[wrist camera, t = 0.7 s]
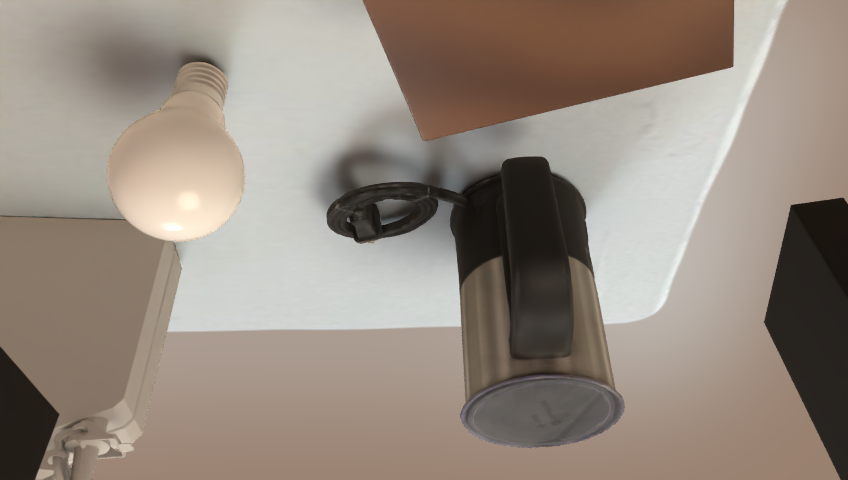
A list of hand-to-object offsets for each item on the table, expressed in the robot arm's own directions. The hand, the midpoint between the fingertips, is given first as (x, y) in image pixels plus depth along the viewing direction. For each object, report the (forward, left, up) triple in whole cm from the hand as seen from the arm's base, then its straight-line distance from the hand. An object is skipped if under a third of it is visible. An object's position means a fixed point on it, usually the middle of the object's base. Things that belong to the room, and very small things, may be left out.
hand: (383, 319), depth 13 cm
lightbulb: (+13, -14, -27) cm, 33 cm away
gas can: (+25, -27, -27) cm, 45 cm away
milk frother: (+27, -2, -27) cm, 38 cm away
